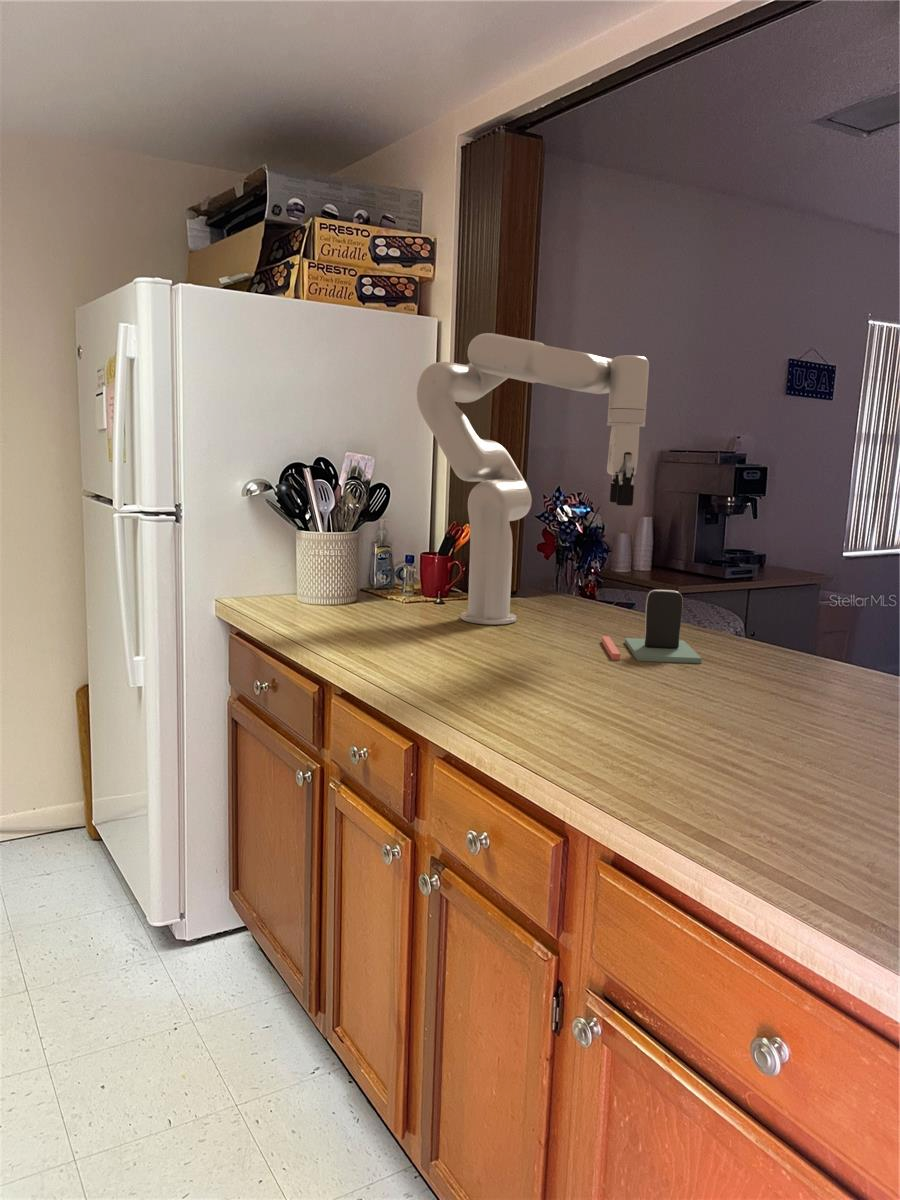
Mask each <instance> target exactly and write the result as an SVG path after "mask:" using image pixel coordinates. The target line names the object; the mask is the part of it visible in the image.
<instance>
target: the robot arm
mask: <svg viewBox="0 0 900 1200" xmlns="http://www.w3.org/2000/svg"><path fill="white" fill-rule="evenodd" d="M467 358H468V361H469V362H468V363H467V364H462V363H456V362H450V361H439V362H435V363H432V364H429V365H428V366H427V367H426V368H425V369H424V370H423V371H422V373H421V375H420V377H419V379H418V383H417V387H416V399H417V406H418V409H419V411H420V414H421V415H422V418H423V420H424V422H425V423H426V424H427V426H428V428H429V429H430V431H431V433H432V434H433V436H434V438H435V440H436V441H437V443H438V445H439V447H440V449H441V450H442V453H443V454H444V456H445V458H446V459H447V462H448V463H449V465H450V467H451V469H452V470H453V472H454V474H455V475H456V477H458V478H459V479H460V480H462V481H464V482H470V483H471V482H473V483H475V482H479V483H478V484H476V485H474V487H473V488H472V489H471V490H470V492H469V496H468V499H467V512H468V513H467V514H468V520H469V532H470V533H469V534H470V535H469V536H470V537H469V538H470V539H469V567H468V568H469V569H468V570H469V573H468V574H469V575H468V593H467V594H468V599H467V602H468V603H467V610H466V611H463V612H461V613H460V619H461V620H463V621H465V622H467V623H471V624H480V625H492V626H493V625H494V626H495V625H496V626H497V625H508V624H512V623H515V622H516V621H517V615H516V614H514V613H512V612H510V611H511V590H512V567H513V544H514V543H513V533H512V528H511V525H510V524H511V523H510V522H513V521H518V520H520V519H522V518H524V517H525V516H527V515H528V513H529V512H530V510H531V507H532V494H531V490H530V488H529V486H528V484H527V482H526V480H525V478H524V477H523V475H522V473H521V471H520V470H519V468H518V467H517V464H516V463H515V461H514V459H513V458H512V456H511V454H510V453H509V452H508V450H507V449H506V448H505V447H504V446H503V445H502V444H500V443H499V442H497V441H494V440H491V439H482V438H481V437H479V435H478V434H477V433H476V431H475V429H474V428H473V425H472V424H471V422H470V419H468V417H467V416H466V414H465V413H464V412H463V411H462V410H461V409H460V408H459V407H458V406H457V403H462V404H463V403H473V402H476V401H478V400H480V399H481V398H483V397H485V396H486V394H488V393H489V392H491V391H492V390H494V389H496V387H498V386H500V385H501V384H502V383H503V382H505V381H506V380H508V379H512V380H513V379H514V380H517V381H522V382H527V383H531V384H536V383H537V384H538V383H539V384H544V385H547V386H552V387H557V388H562V389H566V390H571V391H576V392H581V393H588V394H594V395H604V394H608V409H607V422H606V425H607V426H609V427H611V430H610V436H609V444H608V445H609V446H608V453H607V454H608V456H607V465H606V472H607V473H608V475H611V483H610V492H609V502H611V503H615V504H616V505H617V506H623V507H624V506H626V507H629V506H630V507H631V506H633V504H634V493H635V492H634V490H635V485H634V483H635V481H634V479H635V478H634V477H635V476H634V475H636V474H637V470H638V461H639V448H640V447H639V444H640V443H639V442H640V428H642V427H643V428H645V426H646V417H647V416H646V414H647V402H648V401H647V400H648V385H649V374H650V373H649V370H650V362H649V360H648V359H647V357H645V356H641V355H633V354H632V355H631V354H628V355H626V354H625V355H618V356H615V357H614V358H612V357H611V358H609V357H603V356H601V355H600V356H599V355H597V354H593V353H587V352H583V351H576V350H571V349H567V348H562V347H561V348H560V347H557V346H556V347H555V346H552V345H551V346H550V345H546V344H544V343H543V342H540V341H535V340H530V339H529V340H528V339H525V338H518V337H513V336H508V335H504V334H497V333H492V332H490V333H489V332H486V333H485V332H483V333H481V334H478V335H476V336H474V337H473V338H472V339H471V340H470V343H469V345H468V348H467Z"/></svg>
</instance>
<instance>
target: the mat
mask: <svg viewBox="0 0 900 1200" xmlns="http://www.w3.org/2000/svg"><path fill="white" fill-rule="evenodd" d="M644 641H645V638H635V637H633V638H632V637H625V638H624V644H625V646H626V647H627V648H628V650H629V652H630V653H631V654H632V655H633V657H634V658H635V659H636V661H638V662H659V663H661V662H662V663H663V662H664V663H682V664H683V663H684V664H685V663H686V664H688V663H689V664H702V660H703V658H702V656H700V655H699V654H698V653H697V652H696V650H694V649H693V648H692V647H691V646H690V645H689V644H688V643H687V642H686V641H685V640H684V639H679V647H678V648H655V647H646V646H645V645H644Z"/></svg>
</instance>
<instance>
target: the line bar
mask: <svg viewBox="0 0 900 1200" xmlns="http://www.w3.org/2000/svg"><path fill="white" fill-rule="evenodd" d="M601 644H602V645H603V647H604V648H605V651H606V652H607V654H608V655H609V657H610V659H611V660H612V661H620V660H621V653H620V651H619V649H618V648H617V645H615V643H614V641H613V640H612V638H611V637H610V636H609V635H607V636H606V635H602V636H601Z"/></svg>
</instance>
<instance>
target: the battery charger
mask: <svg viewBox="0 0 900 1200" xmlns="http://www.w3.org/2000/svg"><path fill="white" fill-rule="evenodd" d="M683 603H684V602H683V595H682V594H681V593H680V592H679V591H676V590H672V589H660V588H659V589H657V588H656V589H651V590H649V591H648V592H647V594H646V597H645V606H644V607H645V608H644V615H645V617H644V618H645V622H644V623H645V631H644V639H645V641H644V645H645V646H646V647H655V648H678V647H679V640H680V635H681V626H682V618H683V607H684V606H683V605H684V604H683Z"/></svg>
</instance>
